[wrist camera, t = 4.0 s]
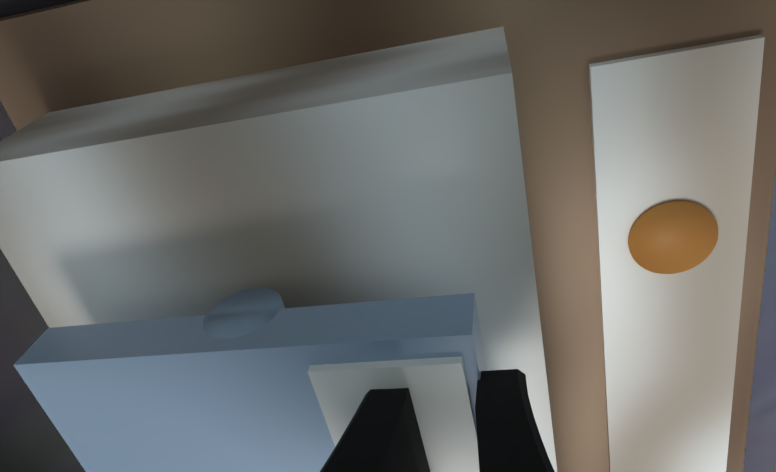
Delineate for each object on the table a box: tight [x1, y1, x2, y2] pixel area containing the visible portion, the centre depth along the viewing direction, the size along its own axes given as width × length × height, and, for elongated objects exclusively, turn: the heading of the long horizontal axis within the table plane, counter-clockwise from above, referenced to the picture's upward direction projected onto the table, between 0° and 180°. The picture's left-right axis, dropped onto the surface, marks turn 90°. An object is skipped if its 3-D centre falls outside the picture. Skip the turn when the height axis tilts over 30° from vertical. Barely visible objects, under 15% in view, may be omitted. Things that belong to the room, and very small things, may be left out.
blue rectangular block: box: [14, 288, 488, 472], centre depth 11 cm, size 8×4×2 cm, turn 103°
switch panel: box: [0, 0, 776, 472], centre depth 16 cm, size 16×24×4 cm, turn 12°
